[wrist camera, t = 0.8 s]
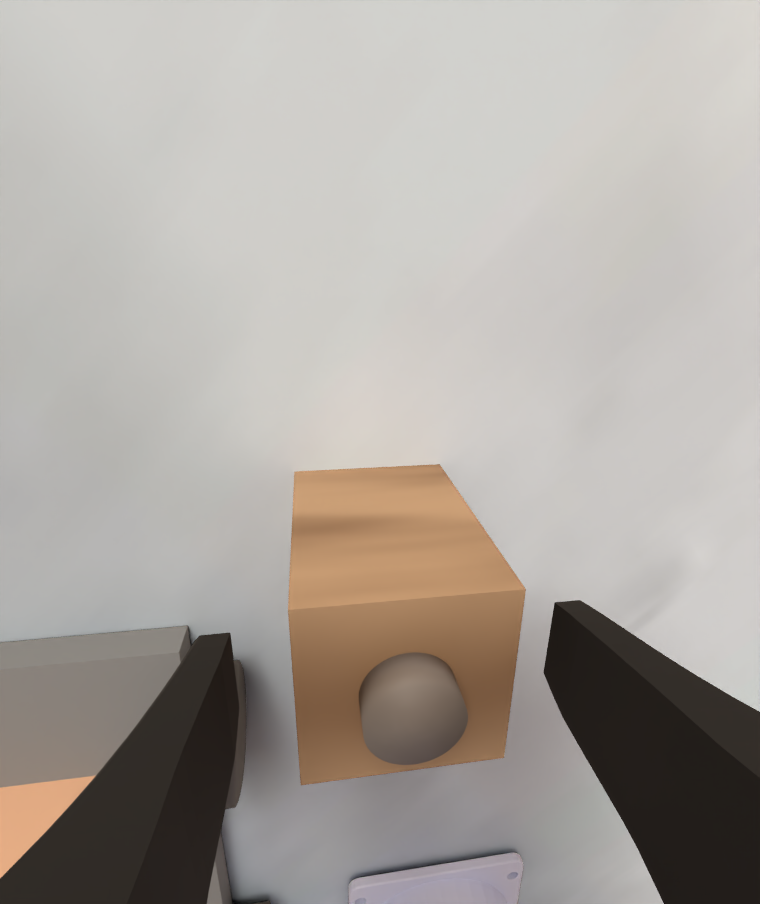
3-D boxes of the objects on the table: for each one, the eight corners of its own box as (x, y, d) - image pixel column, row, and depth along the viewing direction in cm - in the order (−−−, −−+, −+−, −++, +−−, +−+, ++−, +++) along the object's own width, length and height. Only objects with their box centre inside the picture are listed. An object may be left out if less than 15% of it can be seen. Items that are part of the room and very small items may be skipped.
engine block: (433, 584, 17) (518, 793, 10) (301, 595, 16) (300, 825, 10) (439, 464, 15) (544, 616, 9) (294, 471, 15) (286, 641, 8)
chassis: (275, 940, 23) (269, 1080, 19) (-96, 1006, 21) (-189, 1179, 17) (237, 621, 16) (216, 731, 12) (-301, 669, 14) (-529, 820, 10)
